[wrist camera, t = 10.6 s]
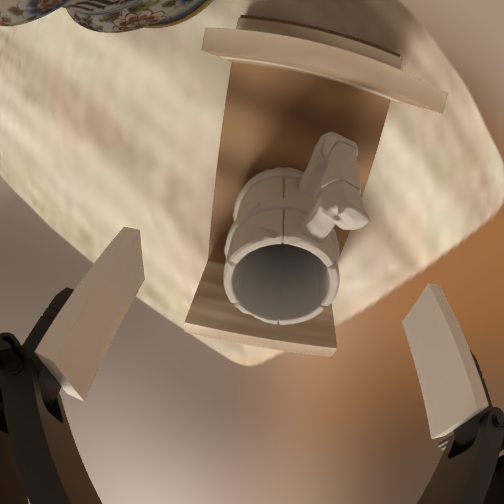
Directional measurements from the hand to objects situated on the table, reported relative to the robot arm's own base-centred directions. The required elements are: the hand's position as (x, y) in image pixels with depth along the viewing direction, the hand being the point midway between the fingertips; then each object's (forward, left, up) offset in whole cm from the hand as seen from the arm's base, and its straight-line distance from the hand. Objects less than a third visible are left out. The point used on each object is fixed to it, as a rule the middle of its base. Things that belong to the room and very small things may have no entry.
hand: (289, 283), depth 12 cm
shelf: (0, 0, -14) cm, 14 cm away
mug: (0, +1, -12) cm, 12 cm away
